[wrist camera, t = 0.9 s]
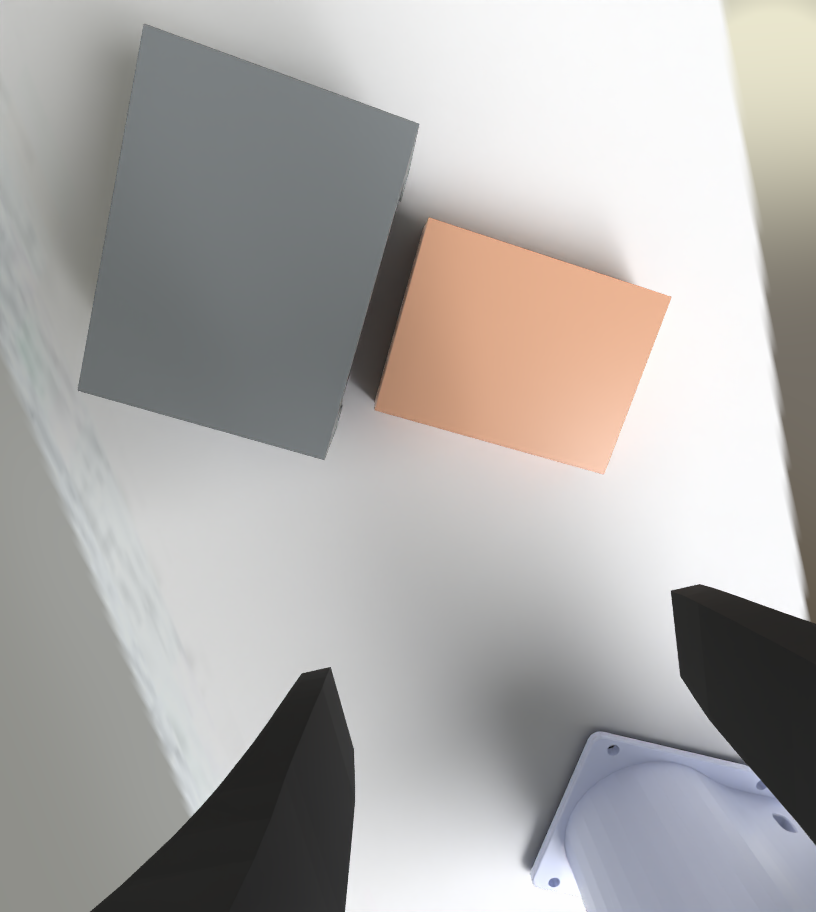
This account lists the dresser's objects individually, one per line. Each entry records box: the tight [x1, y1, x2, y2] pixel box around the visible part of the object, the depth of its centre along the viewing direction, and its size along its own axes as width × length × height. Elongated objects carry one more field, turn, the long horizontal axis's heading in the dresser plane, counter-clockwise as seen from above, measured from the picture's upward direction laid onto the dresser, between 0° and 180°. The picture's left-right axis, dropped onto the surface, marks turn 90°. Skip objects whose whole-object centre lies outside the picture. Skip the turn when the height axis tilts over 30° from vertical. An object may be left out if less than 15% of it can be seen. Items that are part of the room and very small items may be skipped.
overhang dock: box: [78, 24, 419, 460], centre depth 16 cm, size 7×9×4 cm
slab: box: [375, 218, 671, 474], centre depth 19 cm, size 8×6×2 cm
